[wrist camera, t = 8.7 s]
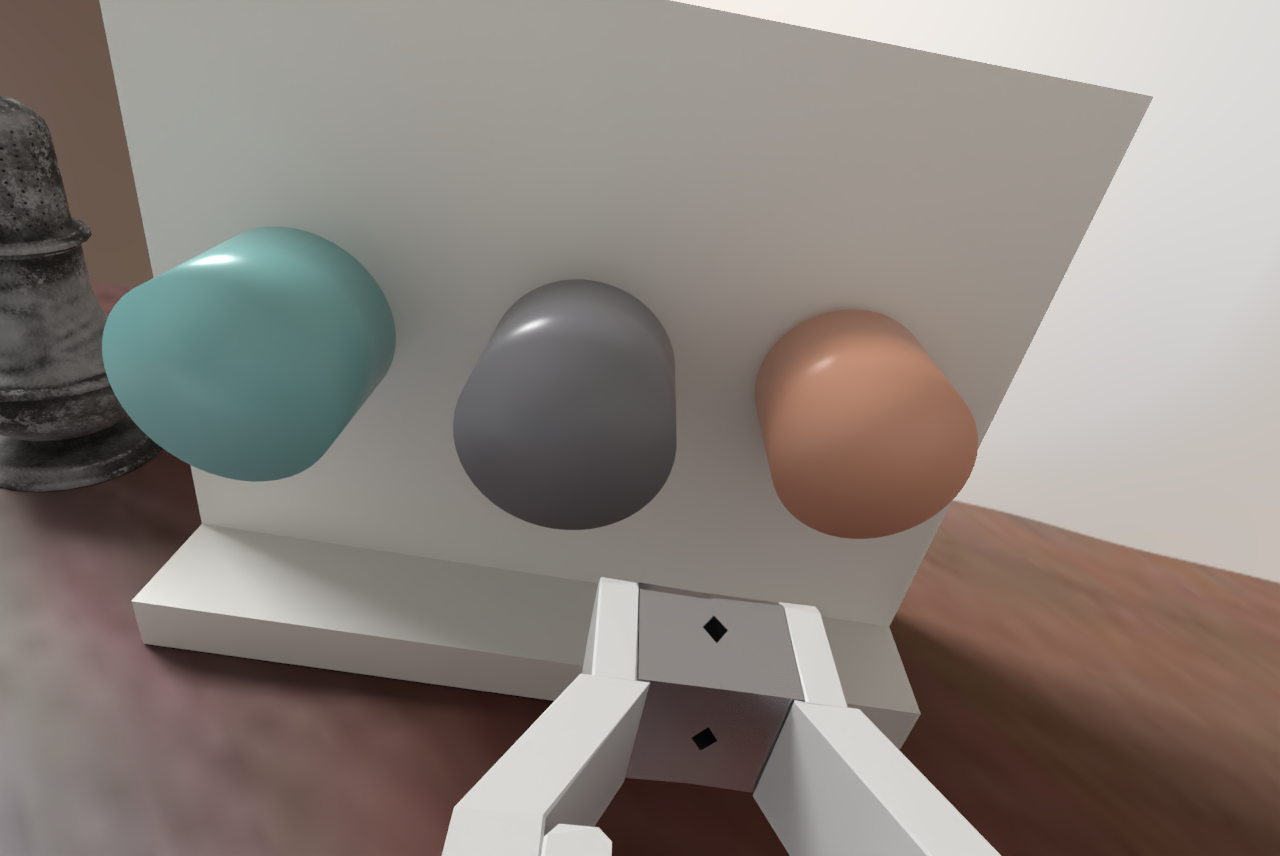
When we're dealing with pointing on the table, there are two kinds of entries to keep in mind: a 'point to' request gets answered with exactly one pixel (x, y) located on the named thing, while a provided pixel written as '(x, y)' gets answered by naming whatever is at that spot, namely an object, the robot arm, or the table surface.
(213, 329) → the teal button
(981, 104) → the console
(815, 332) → the terracotta button
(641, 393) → the charcoal button
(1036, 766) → the table surface
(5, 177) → the grey stone chess piece
